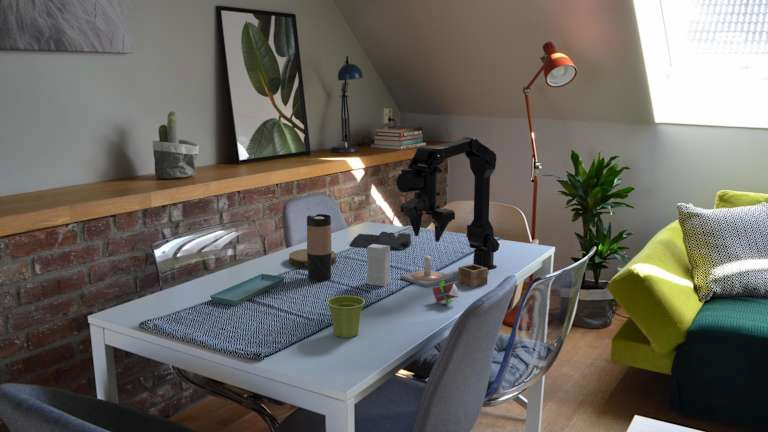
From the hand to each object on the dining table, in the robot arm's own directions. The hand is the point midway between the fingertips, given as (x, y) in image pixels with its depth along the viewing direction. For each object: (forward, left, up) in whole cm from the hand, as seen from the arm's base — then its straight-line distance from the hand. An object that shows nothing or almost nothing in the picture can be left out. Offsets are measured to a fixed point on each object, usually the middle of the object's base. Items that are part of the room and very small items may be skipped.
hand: (426, 238), depth 221 cm
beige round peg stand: (-3, -3, -14) cm, 15 cm away
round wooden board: (+14, -42, -15) cm, 46 cm away
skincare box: (+12, -9, -14) cm, 21 cm away
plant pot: (+45, +18, -14) cm, 50 cm away
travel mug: (+23, -25, -14) cm, 37 cm away
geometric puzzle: (+9, +17, -14) cm, 24 cm away
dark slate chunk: (-20, -46, -15) cm, 52 cm away
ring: (-11, +9, -14) cm, 20 cm away
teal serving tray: (+47, -27, -15) cm, 56 cm away
